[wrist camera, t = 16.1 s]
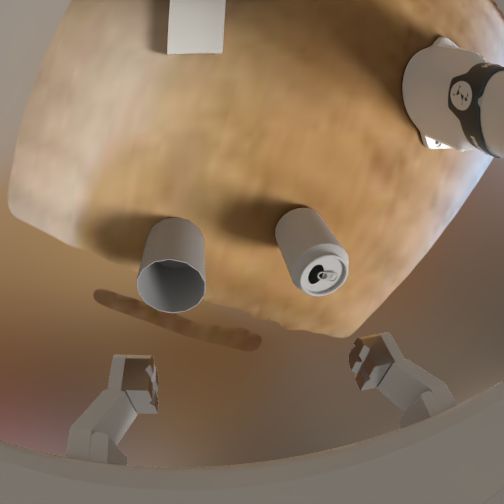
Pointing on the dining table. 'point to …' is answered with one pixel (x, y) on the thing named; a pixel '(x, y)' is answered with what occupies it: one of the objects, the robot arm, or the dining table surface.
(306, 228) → the can
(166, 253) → the cup
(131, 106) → the dining table surface
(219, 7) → the white and orange box
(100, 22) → the dining table surface
